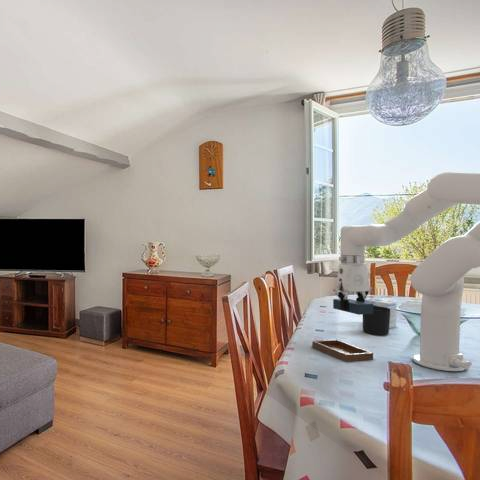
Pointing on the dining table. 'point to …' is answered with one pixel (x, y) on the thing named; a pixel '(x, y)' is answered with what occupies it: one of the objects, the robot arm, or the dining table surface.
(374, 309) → the pen holder
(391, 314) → the light bulb box
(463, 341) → the dining table surface
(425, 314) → the robot arm
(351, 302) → the back pad
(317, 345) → the frame
